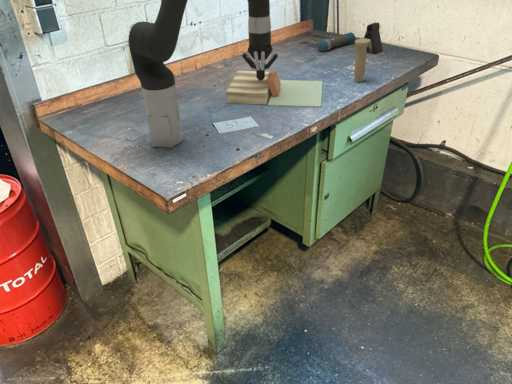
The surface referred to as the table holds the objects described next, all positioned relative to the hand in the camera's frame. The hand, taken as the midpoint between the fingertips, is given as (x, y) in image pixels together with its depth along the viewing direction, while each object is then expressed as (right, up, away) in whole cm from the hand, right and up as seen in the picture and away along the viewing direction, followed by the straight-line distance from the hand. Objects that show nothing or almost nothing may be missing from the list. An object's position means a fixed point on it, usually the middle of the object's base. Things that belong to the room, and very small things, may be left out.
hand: (260, 79), depth 153 cm
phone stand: (+50, +23, +41) cm, 69 cm away
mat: (+13, -4, +2) cm, 14 cm away
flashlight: (+36, +27, +48) cm, 65 cm away
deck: (-3, -3, +4) cm, 6 cm away
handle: (+37, +2, +10) cm, 39 cm away
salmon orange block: (+4, -1, 0) cm, 4 cm away
